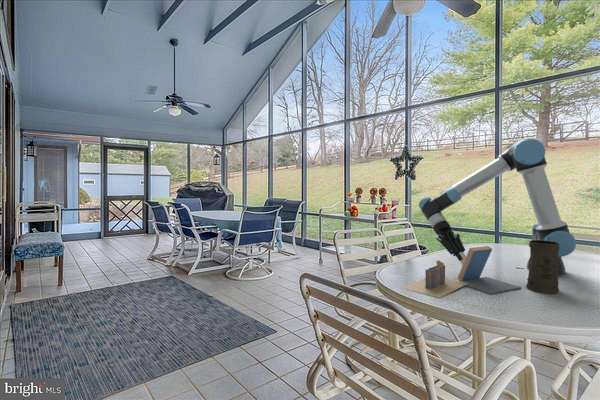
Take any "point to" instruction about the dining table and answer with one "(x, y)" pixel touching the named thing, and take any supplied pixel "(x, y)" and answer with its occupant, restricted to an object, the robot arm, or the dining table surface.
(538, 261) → the beer stein
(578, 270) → the dining table surface
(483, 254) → the tile
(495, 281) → the mat
